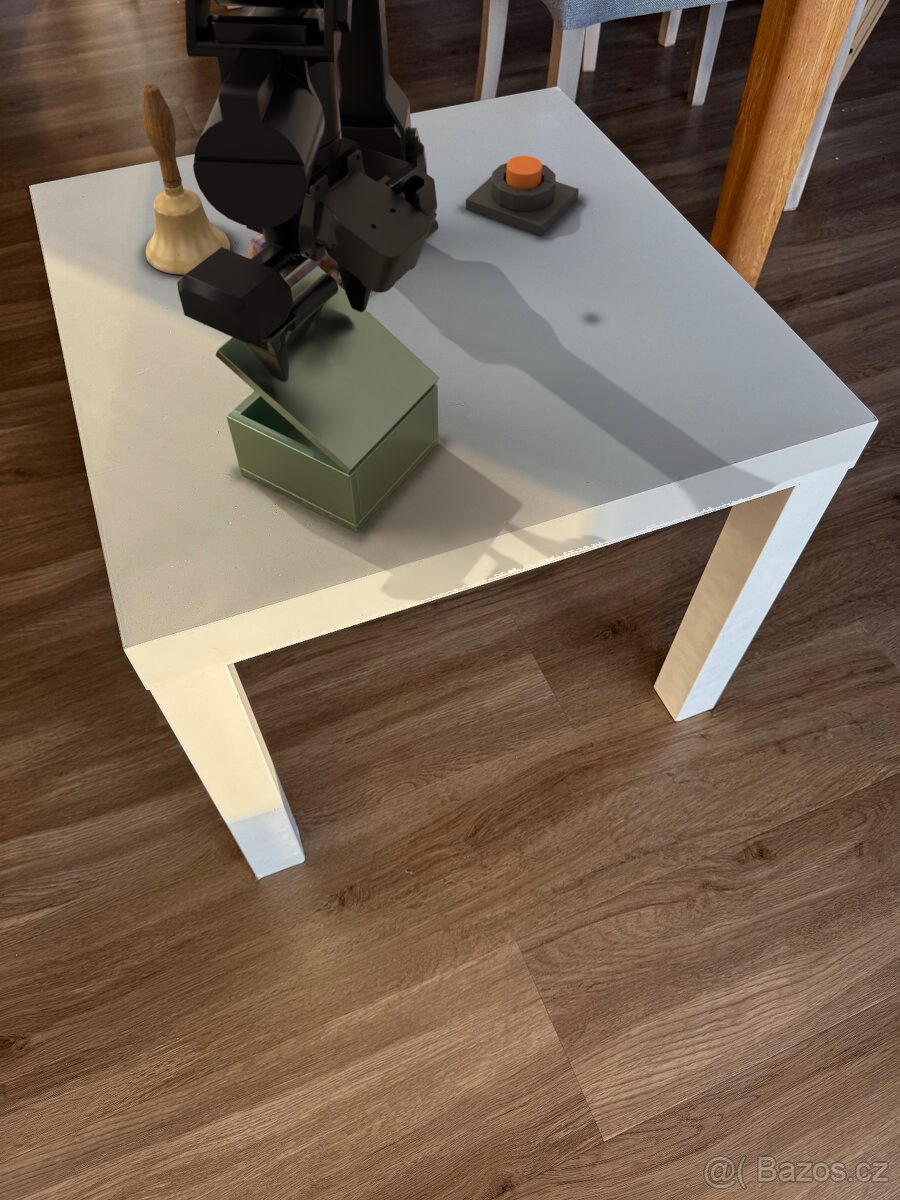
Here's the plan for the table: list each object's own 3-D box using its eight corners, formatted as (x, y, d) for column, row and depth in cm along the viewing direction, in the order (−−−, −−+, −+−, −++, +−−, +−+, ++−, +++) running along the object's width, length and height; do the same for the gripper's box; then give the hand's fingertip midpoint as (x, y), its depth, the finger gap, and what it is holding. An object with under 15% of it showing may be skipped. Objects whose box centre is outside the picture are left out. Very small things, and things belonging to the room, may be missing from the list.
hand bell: (222, 220, 98) (187, 57, 85) (237, 266, 93) (203, 101, 80) (141, 235, 96) (93, 71, 83) (152, 282, 92) (103, 117, 79)
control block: (465, 209, 99) (465, 182, 96) (504, 174, 103) (505, 147, 100) (540, 236, 96) (543, 209, 94) (577, 199, 100) (581, 172, 98)
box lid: (214, 355, 67) (228, 315, 62) (315, 271, 72) (334, 229, 68) (347, 474, 68) (370, 442, 64) (435, 382, 74) (462, 347, 69)
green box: (240, 474, 77) (225, 416, 72) (327, 391, 82) (318, 332, 77) (357, 533, 73) (349, 476, 68) (438, 443, 79) (438, 384, 74)
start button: (499, 184, 97) (500, 167, 96) (517, 168, 99) (518, 151, 97) (530, 194, 96) (531, 178, 94) (547, 178, 98) (548, 161, 96)
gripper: (303, 252, 49) (333, 465, 61) (491, 100, 58) (483, 312, 71) (143, 187, 52) (202, 402, 65) (344, 53, 62) (362, 264, 74)
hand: (321, 343), depth 69 cm, fingers open, 9 cm apart
